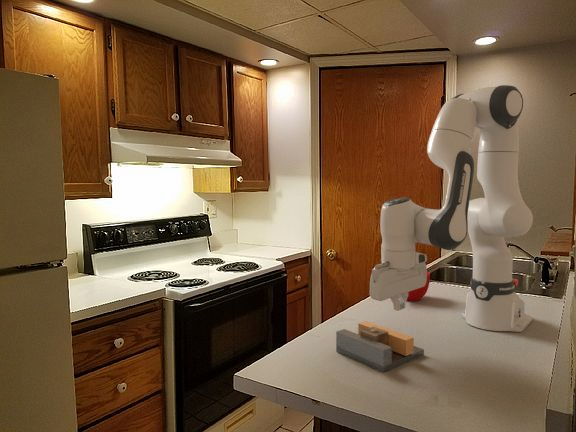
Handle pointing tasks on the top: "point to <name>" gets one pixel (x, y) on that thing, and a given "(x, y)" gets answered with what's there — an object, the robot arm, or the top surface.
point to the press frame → (372, 351)
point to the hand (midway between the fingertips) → (399, 309)
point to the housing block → (375, 334)
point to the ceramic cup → (419, 291)
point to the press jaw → (393, 339)
